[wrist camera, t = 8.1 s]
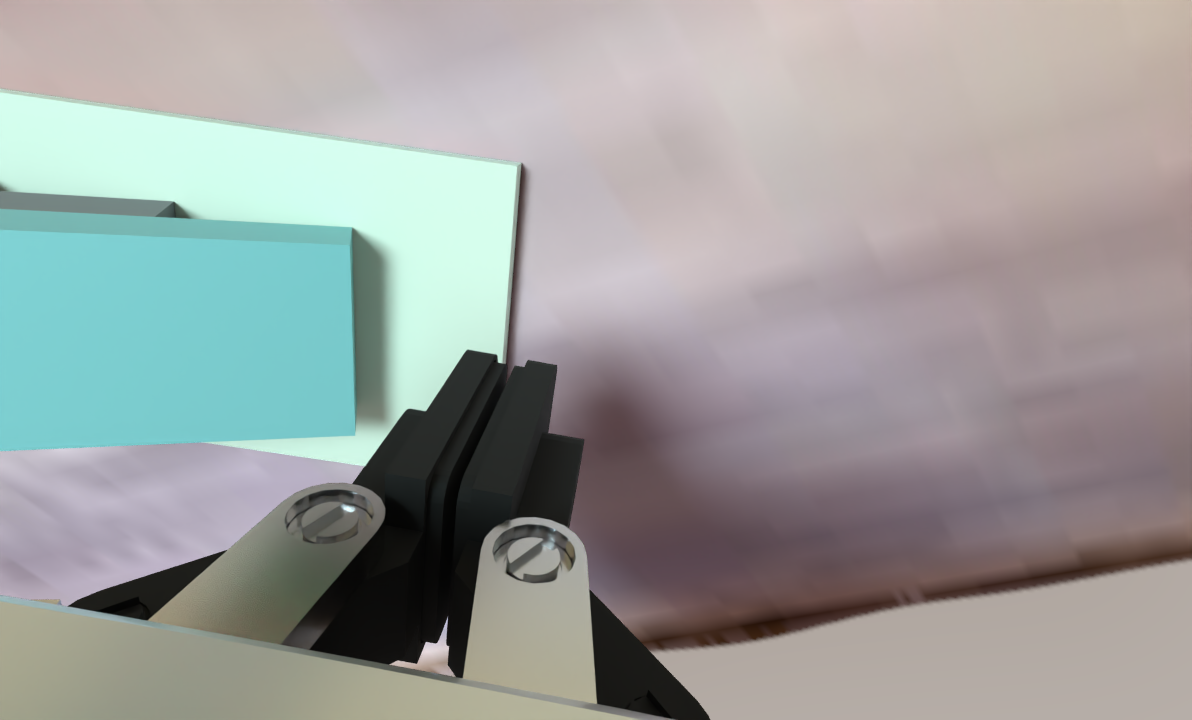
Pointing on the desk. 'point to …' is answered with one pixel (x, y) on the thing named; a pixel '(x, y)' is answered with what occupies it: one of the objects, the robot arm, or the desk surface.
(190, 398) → the tile
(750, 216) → the desk surface
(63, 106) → the mat
